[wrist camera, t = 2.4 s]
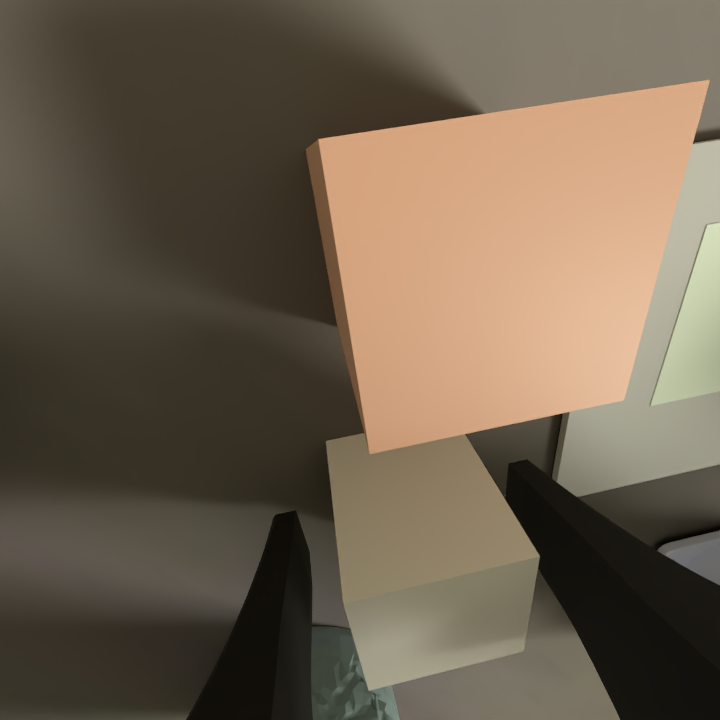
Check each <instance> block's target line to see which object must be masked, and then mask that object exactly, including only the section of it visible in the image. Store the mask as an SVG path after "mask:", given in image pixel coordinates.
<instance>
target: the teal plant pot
mask: <svg viewBox="0 0 720 720" xmlns="http://www.w3.org/2000/svg"><path fill="white" fill-rule="evenodd" d="M311 698H312V714H313V720H400V719H399V715H398V710H397V706H396V702H395V698H394V694H393V689H392V685H390V686H386V687H382V688H378V689H374V690H370V691H369V690H368V687H367V683H366V680H365V677H364V673H363V670H362V666H361V663H360V659H359V656H358V652H357V649H356V646H355V642H354V639H353V635H352V632H351V629H345V628H339V627H330V626H313V627H312V645H311Z"/></svg>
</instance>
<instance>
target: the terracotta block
mask: <svg viewBox="0 0 720 720" xmlns="http://www.w3.org/2000/svg"><path fill="white" fill-rule="evenodd" d="M709 81H710V80H705V81H699V82H692V83H686V84H679V85H672V86H666V87H659V88H653V89H646V90H639V91H633V92H626V93H620V94H613V95H606V96H600V97H593V98H587V99H580V100H573V101H567V102H560V103H554V104H547V105H540V106H534V107H527V108H521V109H514V110H507V111H501V112H494V113H488V114H481V115H474V116H468V117H461V118H455V119H448V120H441V121H435V122H428V123H421V124H415V125H408V126H402V127H395V128H388V129H382V130H375V131H369V132H362V133H355V134H349V135H342V136H336V137H329V138H322V139H318V140H317V141H315V142H314V143H313V144H312V145H310V146H309V147H308V148H307V149H306V155H307V161H308V166H309V172H310V177H311V183H312V188H313V194H314V199H315V205H316V211H317V216H318V222H319V227H320V233H321V238H322V244H323V249H324V255H325V261H326V266H327V272H328V277H329V283H330V288H331V294H332V300H333V305H334V311H335V316H336V322H337V327H338V331H339V335H340V339H341V343H342V347H343V351H344V355H345V359H346V363H347V367H348V371H349V375H350V379H351V382H352V386H353V390H354V394H355V398H356V402H357V406H358V410H359V414H360V418H361V422H362V426H363V430H364V434H365V438H366V442H367V446H368V449H369V453H370V454H374V453H378V452H383V451H388V450H392V449H397V448H402V447H407V446H411V445H416V444H421V443H425V442H430V441H435V440H439V439H444V438H449V437H454V436H458V435H463V434H468V433H472V432H477V431H482V430H486V429H491V428H496V427H501V426H505V425H510V424H515V423H519V422H524V421H529V420H533V419H538V418H543V417H548V416H552V415H557V414H562V413H566V412H571V411H576V410H580V409H585V408H590V407H595V406H599V405H604V404H609V403H613V402H618V401H623V400H624V399H625V395H626V391H627V387H628V384H629V380H630V376H631V372H632V369H633V365H634V361H635V358H636V354H637V350H638V346H639V343H640V339H641V335H642V331H643V328H644V324H645V320H646V316H647V313H648V309H649V305H650V302H651V298H652V294H653V290H654V287H655V283H656V279H657V275H658V272H659V268H660V264H661V260H662V257H663V253H664V249H665V246H666V242H667V238H668V234H669V231H670V227H671V223H672V219H673V216H674V212H675V208H676V204H677V201H678V197H679V193H680V190H681V186H682V182H683V178H684V175H685V171H686V167H687V163H688V160H689V156H690V152H691V148H692V145H693V141H694V137H695V134H696V130H697V126H698V122H699V119H700V115H701V111H702V107H703V104H704V100H705V96H706V92H707V89H708V85H709Z"/></svg>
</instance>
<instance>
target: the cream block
mask: <svg viewBox="0 0 720 720" xmlns="http://www.w3.org/2000/svg"><path fill="white" fill-rule="evenodd" d="M326 447H327V457H328V466H329V475H330V485H331V494H332V503H333V513H334V522H335V531H336V541H337V550H338V559H339V569H340V578H341V587H342V597H343V604H344V608H345V611H346V615H347V618H348V621H349V625H350V628H351V632H352V635H353V639H354V642H355V646H356V649H357V652H358V656H359V659H360V663H361V666H362V670H363V673H364V677H365V680H366V683H367V687H368V690H369V691H370V690H374V689H378V688H382V687H386V686H390V685H394V684H397V683H401V682H405V681H409V680H413V679H417V678H421V677H425V676H429V675H433V674H437V673H441V672H444V671H448V670H452V669H456V668H460V667H464V666H468V665H472V664H476V663H480V662H484V661H487V660H491V659H495V658H499V657H503V656H507V655H511V654H515V653H519V652H523V651H524V645H525V639H526V634H527V628H528V622H529V616H530V611H531V605H532V599H533V593H534V588H535V582H536V576H537V571H538V565H539V559H540V556H539V554H538V552H537V551H536V549H535V547H534V546H533V544H532V543H531V541H530V539H529V538H528V536H527V534H526V533H525V531H524V530H523V528H522V526H521V525H520V523H519V521H518V520H517V518H516V516H515V515H514V513H513V512H512V510H511V508H510V507H509V505H508V503H507V502H506V500H505V499H504V497H503V495H502V494H501V492H500V490H499V489H498V487H497V485H496V484H495V482H494V481H493V479H492V477H491V476H490V474H489V472H488V471H487V469H486V468H485V466H484V464H483V463H482V461H481V459H480V458H479V456H478V455H477V453H476V451H475V450H474V448H473V446H472V445H471V443H470V441H469V440H468V438H467V437H466V435H465V434H463V435H458V436H454V437H449V438H444V439H439V440H435V441H430V442H425V443H421V444H416V445H411V446H407V447H402V448H397V449H392V450H388V451H383V452H378V453H374V454H370V453H369V449H368V446H367V442H366V438H365V434H364V433H362V434H357V435H352V436H347V437H343V438H338V439H333V440H328V441H326Z"/></svg>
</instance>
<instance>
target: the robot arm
mask: <svg viewBox="0 0 720 720" xmlns="http://www.w3.org/2000/svg"><path fill="white" fill-rule="evenodd" d="M505 500H506V502H507V503H508V505H509V507H510V508H511V510H512V512H513V513H514V515H515V516H516V518H517V520H518V521H519V523H520V525H521V526H522V528H523V530H524V531H525V533H526V534H527V536H528V538H529V539H530V541H531V543H532V544H533V546H534V547H535V549H536V551H537V552H538V554H539V556H540V559H539V565H538V569H539V570H540V572H541V574H542V575H543V577H544V578H545V580H546V582H547V583H548V585H549V586H550V588H551V590H552V591H553V593H554V594H555V596H556V598H557V599H558V601H559V602H560V604H561V606H562V607H563V609H564V610H565V612H566V614H567V616H568V617H569V619H570V621H571V622H572V624H573V626H574V628H575V630H576V631H577V633H578V635H579V637H580V639H581V641H582V643H583V645H584V647H585V649H586V651H587V653H588V655H589V657H590V659H591V660H592V662H593V664H594V666H595V668H596V670H597V672H598V674H599V676H600V678H601V681H602V683H603V685H604V687H605V689H606V691H607V693H608V695H609V697H610V699H611V701H612V703H613V705H614V707H615V709H616V711H617V713H618V715H619V718H620V720H720V530H719V531H715V532H711V533H707V534H703V535H698V536H694V537H690V538H686V539H682V540H678V541H674V542H670V543H666V544H664V545H662V546H661V547H660V548H659V549H658V550H655V549H653V548H652V547H650V546H648V545H647V544H645V543H643V542H642V541H640V540H639V539H637V538H636V537H634V536H632V535H631V534H629V533H628V532H626V531H625V530H623V529H622V528H620V527H619V526H617V525H616V524H614V523H613V522H611V521H610V520H608V519H607V518H605V517H604V516H602V515H601V514H600V513H598V512H597V511H595V510H594V509H593V508H591V507H590V506H588V505H587V504H586V503H584V502H583V501H581V500H580V499H579V498H577V497H576V496H575V495H573V494H572V493H571V492H569V491H568V490H567V489H565V488H564V487H563V486H561V485H560V484H559V483H557V482H556V481H555V480H553V479H552V478H551V477H549V476H548V475H547V474H545V473H544V472H543V471H542V470H540V469H539V468H538V467H536V466H535V465H534V464H532V463H531V462H530V461H528V460H523V461H518V462H514V463H509V465H508V477H507V488H506V499H505ZM311 645H312V577H311V565H310V553H309V549H308V546H307V543H306V540H305V537H304V534H303V531H302V528H301V524H300V521H299V518H298V515H297V512H296V510H295V511H291V512H286V513H282V514H277V515H275V517H274V518H273V521H272V525H271V528H270V532H269V535H268V539H267V542H266V545H265V548H264V551H263V554H262V557H261V560H260V563H259V566H258V568H257V571H256V574H255V576H254V579H253V582H252V584H251V587H250V590H249V592H248V595H247V597H246V600H245V602H244V604H243V607H242V609H241V611H240V614H239V616H238V618H237V621H236V623H235V625H234V628H233V630H232V632H231V634H230V636H229V638H228V641H227V643H226V645H225V647H224V649H223V651H222V653H221V655H220V657H219V659H218V661H217V663H216V665H215V667H214V669H213V671H212V673H211V675H210V677H209V679H208V681H207V683H206V685H205V686H204V688H203V690H202V692H201V694H200V696H199V698H198V699H197V701H196V703H195V705H194V707H193V709H192V710H191V712H190V714H189V716H188V718H187V719H186V720H313V714H312V698H311Z"/></svg>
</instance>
